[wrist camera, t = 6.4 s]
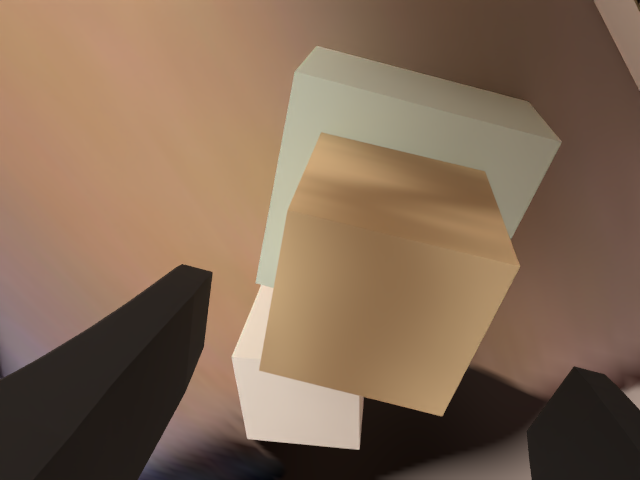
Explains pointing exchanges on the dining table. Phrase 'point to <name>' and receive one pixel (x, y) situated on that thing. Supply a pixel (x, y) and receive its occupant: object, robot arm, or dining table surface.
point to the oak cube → (386, 275)
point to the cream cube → (289, 396)
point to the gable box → (624, 30)
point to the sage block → (407, 132)
